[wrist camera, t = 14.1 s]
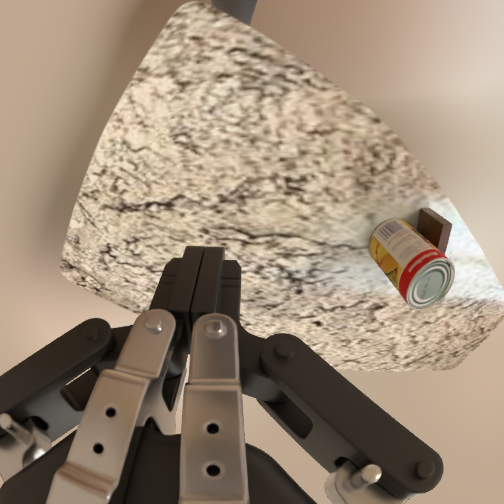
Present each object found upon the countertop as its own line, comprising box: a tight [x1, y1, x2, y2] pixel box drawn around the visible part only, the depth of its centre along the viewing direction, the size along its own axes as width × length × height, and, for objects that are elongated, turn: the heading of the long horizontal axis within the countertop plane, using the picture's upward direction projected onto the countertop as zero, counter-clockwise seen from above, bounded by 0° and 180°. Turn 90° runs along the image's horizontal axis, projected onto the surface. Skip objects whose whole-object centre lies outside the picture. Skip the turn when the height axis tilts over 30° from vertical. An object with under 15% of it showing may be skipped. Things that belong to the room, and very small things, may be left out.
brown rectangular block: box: [417, 208, 452, 255], centre depth 38 cm, size 10×2×6 cm, turn 3°
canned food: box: [369, 218, 455, 311], centre depth 35 cm, size 8×8×12 cm
